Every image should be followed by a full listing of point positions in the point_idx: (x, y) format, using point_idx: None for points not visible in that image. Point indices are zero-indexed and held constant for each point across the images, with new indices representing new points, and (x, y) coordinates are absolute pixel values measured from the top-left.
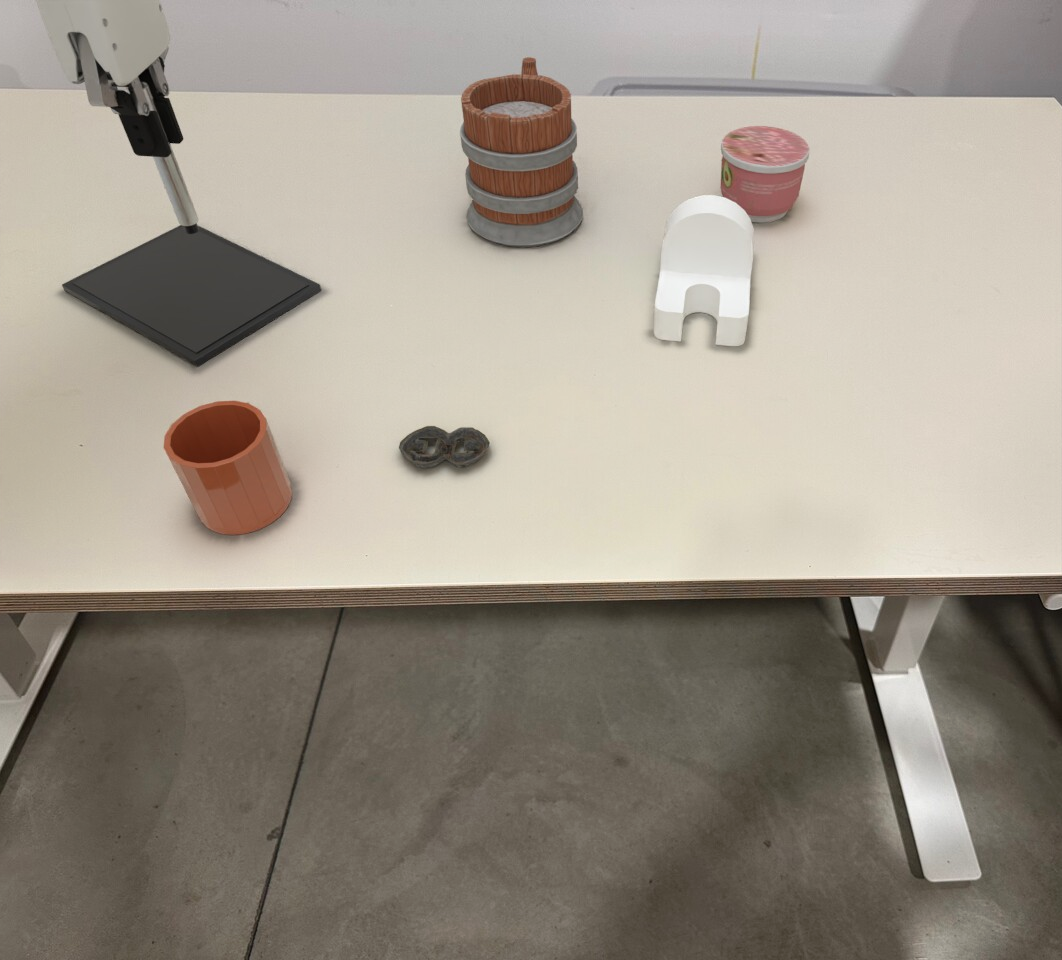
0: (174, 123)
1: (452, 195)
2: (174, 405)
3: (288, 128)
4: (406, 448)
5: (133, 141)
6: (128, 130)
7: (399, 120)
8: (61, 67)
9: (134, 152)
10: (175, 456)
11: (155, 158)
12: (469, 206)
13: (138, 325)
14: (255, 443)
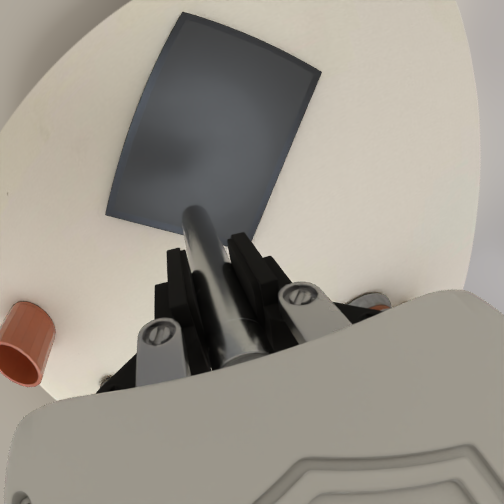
0: None
1: (384, 270)
2: (62, 227)
3: (451, 107)
4: (109, 378)
5: (155, 292)
6: (155, 307)
7: (461, 186)
8: (6, 468)
9: (167, 251)
10: None
11: (190, 264)
12: (364, 300)
13: (133, 125)
14: (26, 385)
